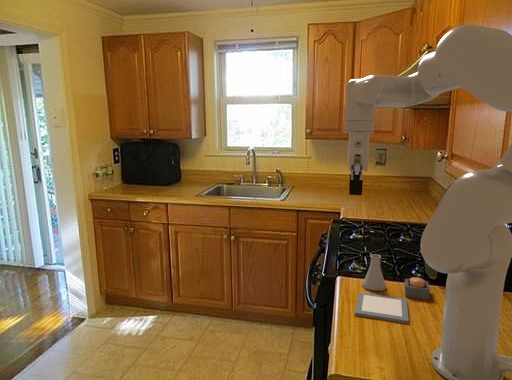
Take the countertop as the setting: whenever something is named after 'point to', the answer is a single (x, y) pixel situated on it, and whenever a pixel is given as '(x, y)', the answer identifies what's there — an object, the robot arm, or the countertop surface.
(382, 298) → the board
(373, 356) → the countertop surface
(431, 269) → the vegetable
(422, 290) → the button housing
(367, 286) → the flask
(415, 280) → the button
